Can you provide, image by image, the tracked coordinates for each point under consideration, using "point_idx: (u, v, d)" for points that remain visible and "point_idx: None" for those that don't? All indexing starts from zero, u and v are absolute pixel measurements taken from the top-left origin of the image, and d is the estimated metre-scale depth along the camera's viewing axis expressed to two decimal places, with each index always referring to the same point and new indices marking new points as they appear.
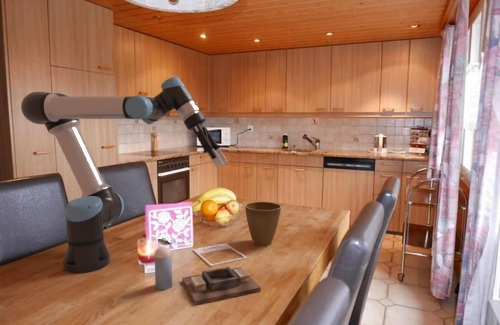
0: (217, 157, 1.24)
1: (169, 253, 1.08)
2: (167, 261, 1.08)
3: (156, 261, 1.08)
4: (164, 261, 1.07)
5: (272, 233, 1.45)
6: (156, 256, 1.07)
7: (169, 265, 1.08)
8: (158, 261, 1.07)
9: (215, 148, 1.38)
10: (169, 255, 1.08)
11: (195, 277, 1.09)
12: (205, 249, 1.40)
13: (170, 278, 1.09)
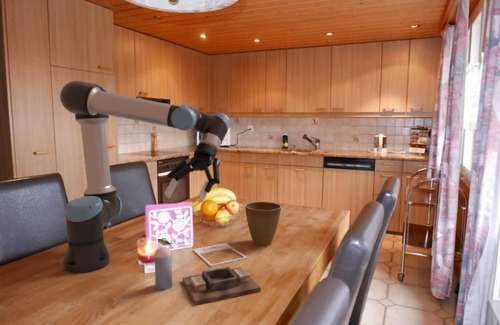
0: (206, 193, 1.16)
1: (169, 253, 1.08)
2: (167, 261, 1.08)
3: (156, 261, 1.08)
4: (164, 261, 1.07)
5: (272, 233, 1.45)
6: (156, 256, 1.07)
7: (169, 265, 1.08)
8: (158, 261, 1.07)
9: (175, 178, 1.24)
10: (169, 255, 1.08)
11: (195, 277, 1.09)
12: (205, 249, 1.40)
13: (170, 277, 1.09)
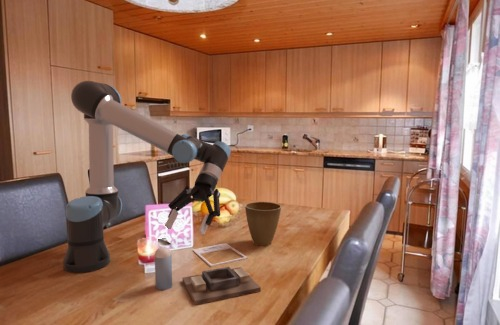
0: (206, 226, 1.17)
1: (169, 253, 1.08)
2: (167, 261, 1.08)
3: (156, 261, 1.08)
4: (164, 261, 1.07)
5: (272, 233, 1.45)
6: (156, 256, 1.07)
7: (169, 265, 1.08)
8: (158, 261, 1.07)
9: (175, 209, 1.25)
10: (169, 255, 1.08)
11: (195, 277, 1.09)
12: (205, 249, 1.40)
13: (170, 277, 1.09)
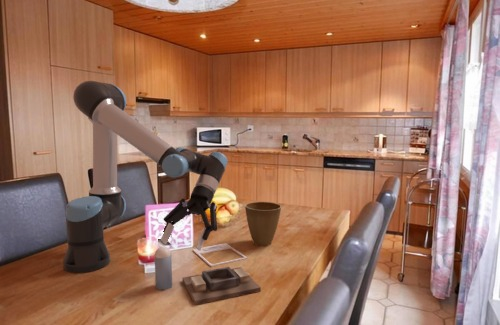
0: (203, 241, 1.14)
1: (169, 253, 1.08)
2: (167, 261, 1.08)
3: (156, 261, 1.08)
4: (164, 261, 1.07)
5: (272, 233, 1.45)
6: (156, 256, 1.07)
7: (169, 265, 1.08)
8: (158, 261, 1.07)
9: (171, 223, 1.22)
10: (169, 255, 1.08)
11: (195, 277, 1.09)
12: (205, 249, 1.40)
13: (170, 278, 1.09)
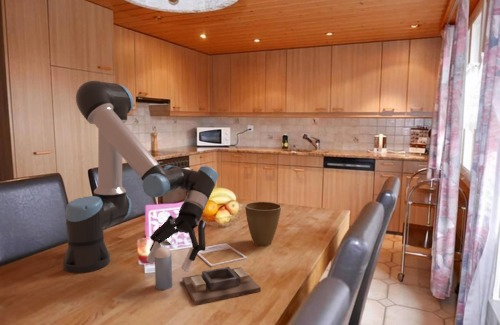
0: (190, 261, 1.09)
1: (169, 253, 1.08)
2: (167, 261, 1.08)
3: (156, 261, 1.08)
4: (164, 261, 1.07)
5: (272, 233, 1.45)
6: (156, 256, 1.07)
7: (169, 265, 1.08)
8: (158, 261, 1.07)
9: (158, 241, 1.17)
10: (169, 255, 1.08)
11: (195, 277, 1.09)
12: (205, 249, 1.40)
13: (170, 277, 1.09)
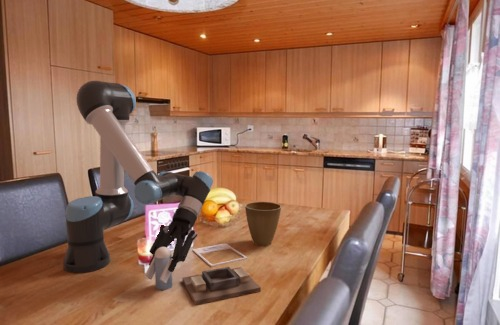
0: (169, 272, 1.08)
1: (169, 253, 1.08)
2: (167, 261, 1.08)
3: (156, 261, 1.08)
4: (164, 261, 1.07)
5: (272, 233, 1.45)
6: (156, 256, 1.07)
7: None
8: (158, 261, 1.07)
9: None
10: (169, 255, 1.08)
11: (195, 277, 1.09)
12: (205, 249, 1.40)
13: (170, 277, 1.09)
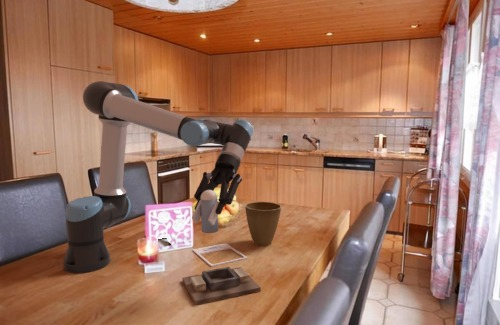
0: (216, 215, 1.05)
1: (215, 195, 1.06)
2: (214, 203, 1.05)
3: (203, 203, 1.05)
4: (211, 203, 1.05)
5: (272, 233, 1.45)
6: (203, 198, 1.05)
7: None
8: (205, 203, 1.05)
9: None
10: (215, 197, 1.06)
11: (195, 277, 1.09)
12: (205, 249, 1.40)
13: (217, 221, 1.07)
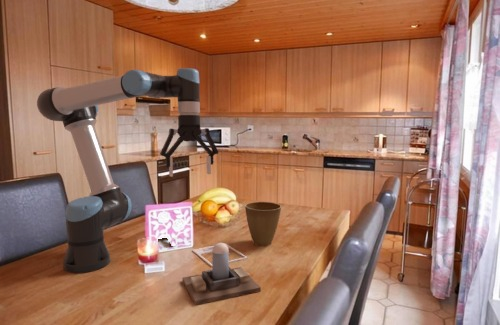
0: None
1: (227, 249, 1.08)
2: (225, 257, 1.08)
3: (214, 257, 1.07)
4: (223, 257, 1.07)
5: (272, 233, 1.45)
6: (215, 252, 1.07)
7: (227, 261, 1.08)
8: (217, 256, 1.07)
9: None
10: (227, 251, 1.08)
11: (195, 277, 1.09)
12: (205, 249, 1.40)
13: (227, 274, 1.09)
